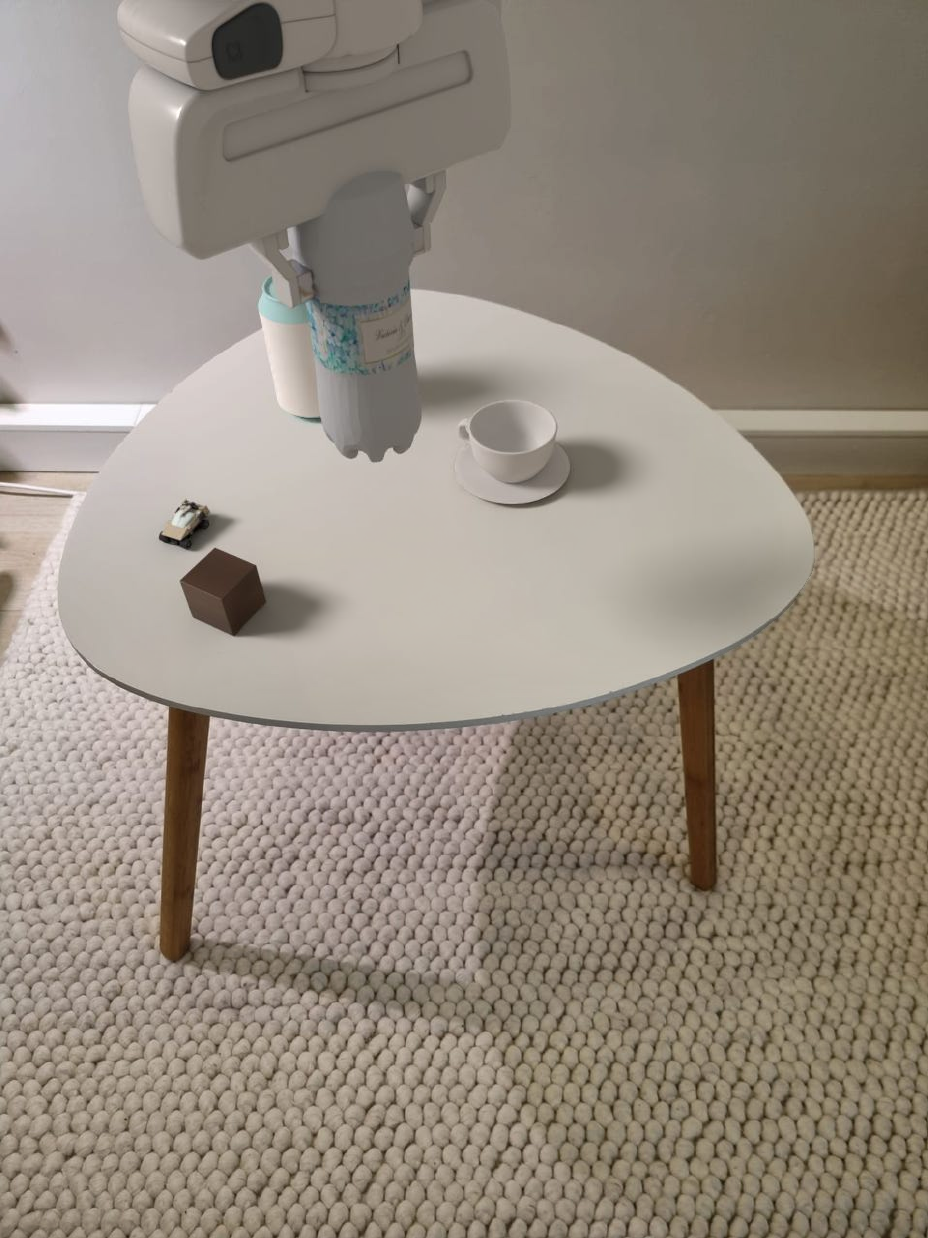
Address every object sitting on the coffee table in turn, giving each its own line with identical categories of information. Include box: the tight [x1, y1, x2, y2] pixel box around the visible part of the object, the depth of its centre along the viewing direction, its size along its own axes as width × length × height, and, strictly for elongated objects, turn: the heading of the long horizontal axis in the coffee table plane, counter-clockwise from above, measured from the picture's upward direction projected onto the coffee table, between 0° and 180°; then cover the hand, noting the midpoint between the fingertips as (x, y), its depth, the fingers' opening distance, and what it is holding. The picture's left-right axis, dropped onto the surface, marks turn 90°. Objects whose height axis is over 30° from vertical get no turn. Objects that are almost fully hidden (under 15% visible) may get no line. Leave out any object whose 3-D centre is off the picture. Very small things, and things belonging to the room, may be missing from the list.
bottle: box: [287, 171, 423, 463], centre depth 53 cm, size 7×7×20 cm
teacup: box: [453, 399, 571, 505], centre depth 81 cm, size 10×10×5 cm
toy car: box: [158, 498, 211, 550], centre depth 78 cm, size 3×4×2 cm, turn 156°
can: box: [257, 274, 321, 419], centre depth 86 cm, size 7×7×12 cm
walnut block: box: [179, 547, 267, 637], centre depth 71 cm, size 4×4×4 cm
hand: (355, 276), depth 52 cm, fingers closed on bottle, 6 cm apart
